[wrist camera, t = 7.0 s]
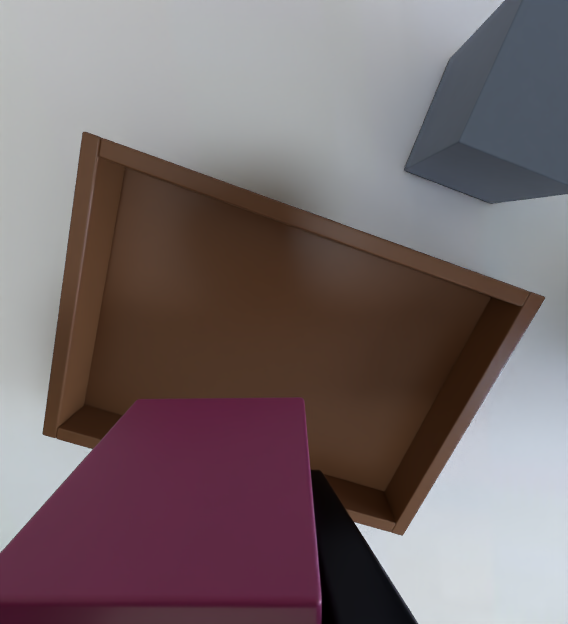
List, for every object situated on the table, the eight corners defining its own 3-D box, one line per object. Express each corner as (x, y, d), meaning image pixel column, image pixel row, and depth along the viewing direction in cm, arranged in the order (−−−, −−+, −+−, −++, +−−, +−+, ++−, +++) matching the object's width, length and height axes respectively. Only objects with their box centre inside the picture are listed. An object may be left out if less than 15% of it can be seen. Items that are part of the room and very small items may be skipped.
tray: (502, 285, 15) (546, 297, 12) (387, 494, 18) (402, 536, 16) (120, 149, 13) (81, 130, 11) (77, 404, 17) (41, 435, 14)
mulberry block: (304, 396, 7) (323, 605, 3) (304, 524, 8) (318, 798, 4) (137, 397, 7) (-48, 602, 3) (159, 525, 8) (42, 792, 4)
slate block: (545, 98, 13) (681, 28, 8) (491, 204, 14) (585, 192, 9) (449, 57, 12) (538, -37, 8) (403, 170, 13) (458, 142, 9)
